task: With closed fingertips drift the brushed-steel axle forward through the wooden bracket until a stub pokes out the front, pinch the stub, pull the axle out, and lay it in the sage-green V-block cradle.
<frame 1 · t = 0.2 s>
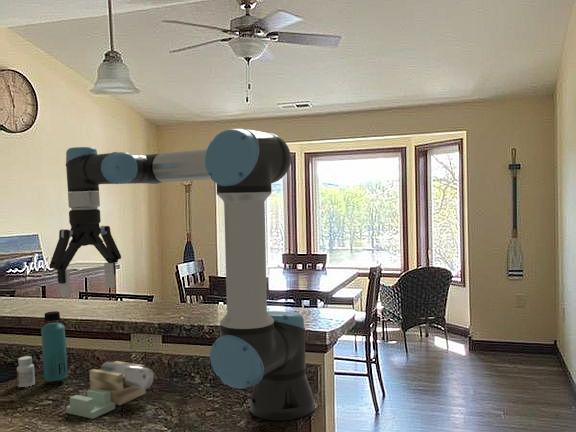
hand: (88, 291, 149), 27 cm above the worktop, fingers open, 13 cm apart
pill bottle: (26, 386, 162), on the worktop
axle: (126, 375, 149), point 6 cm above the worktop, touching wooden bracket
wooden bracket: (118, 396, 150), on the worktop
v block: (88, 410, 142), on the worktop
beverage bottle: (56, 383, 163), on the worktop
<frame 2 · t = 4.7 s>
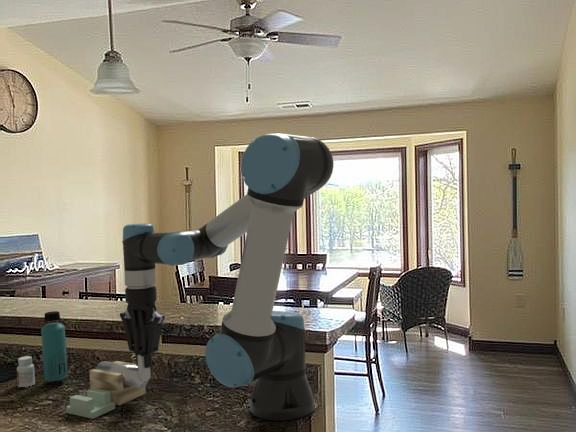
hand: (144, 379, 146), 6 cm above the worktop, fingers closed
axle: (121, 374, 149), point 6 cm above the worktop
everything else where it was.
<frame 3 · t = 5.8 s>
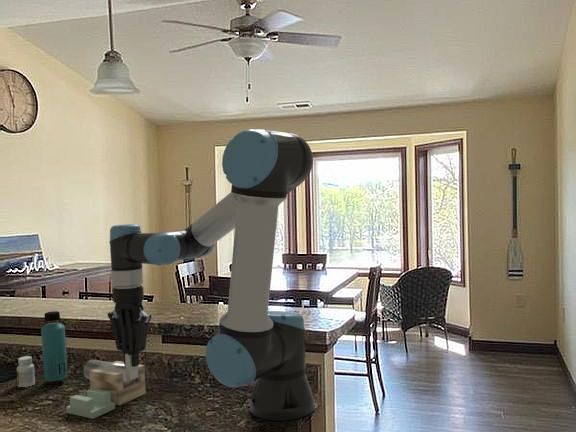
hand: (132, 378, 148), 5 cm above the worktop, fingers closed
axle: (110, 372, 151), point 6 cm above the worktop, touching wooden bracket, gripper
everything else where it was.
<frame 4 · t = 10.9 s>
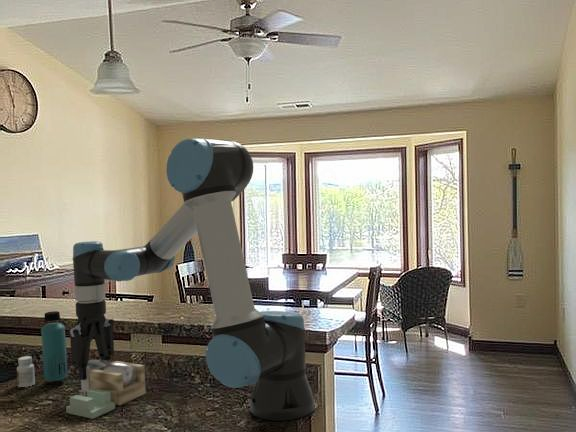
hand: (94, 387, 154), 1 cm above the worktop, fingers closed on axle, 5 cm apart
axle: (110, 372, 151), point 6 cm above the worktop, touching wooden bracket, gripper
everything else where it was.
when the fingers open (2 cm above the worktop, at t = 17.1 s): axle drops 1 cm, resting on v block.
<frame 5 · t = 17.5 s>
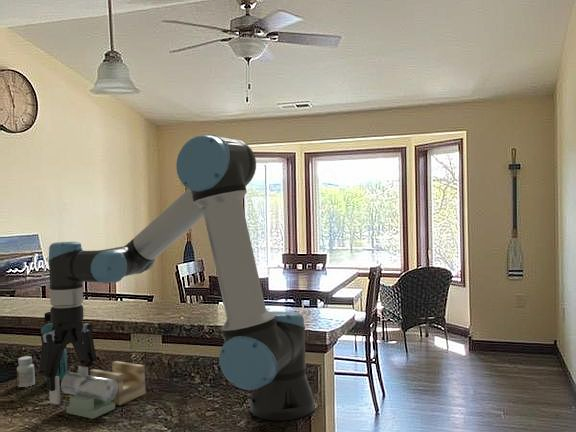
hand: (69, 397, 143), 3 cm above the worktop, fingers open, 8 cm apart
axle: (89, 386, 141), point 6 cm above the worktop, touching v block
everything else where it was.
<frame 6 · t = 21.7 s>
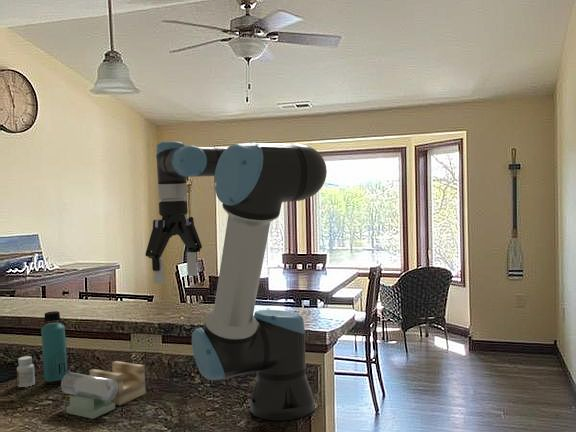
hand: (176, 279, 157), 29 cm above the worktop, fingers open, 13 cm apart
nothing on the worktop moved.
at the end: axle inside the target area on the v block (0.8 cm from its centre), point 5.9 cm above the v block's base; axle touching v block; the gripper is holding nothing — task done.
